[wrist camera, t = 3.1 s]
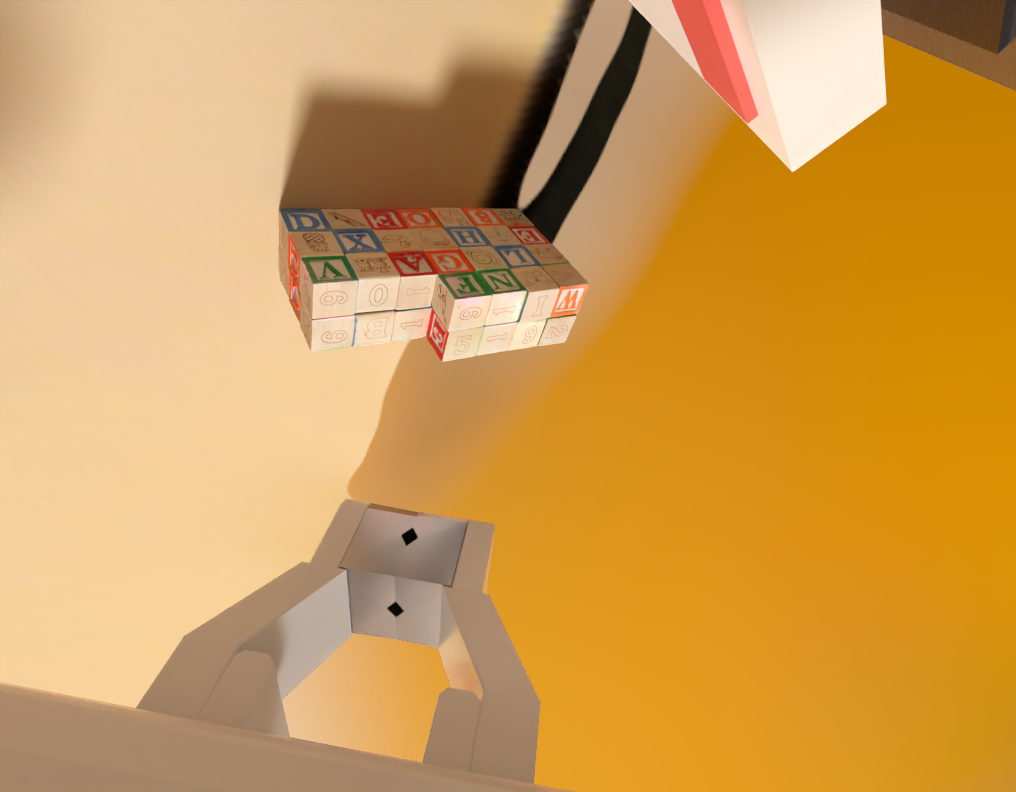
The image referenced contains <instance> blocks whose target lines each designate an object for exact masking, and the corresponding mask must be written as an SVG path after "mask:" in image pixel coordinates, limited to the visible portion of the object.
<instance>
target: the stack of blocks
mask: <svg viewBox="0 0 1016 792" xmlns="http://www.w3.org/2000/svg"><path fill="white" fill-rule="evenodd" d="M279 274H280V279H281V282H282V284H283V286H284V288H285V290H286V292H287V295H288V297H289V301H290V303H291V305H292V307H293V310H294V312H295V314H296V316H297V318H298V320H299V322H300V326H301V330H302V332H303V334H304V336H305V339H306V341H307V344H308V346H309V348H310V350H311V352H319V351H325V350H332V349H340V348H346V347H350V346H353V347H358V346H366V345H373V344H380V343H387V342H397V341H404V340H410V339H416V338H421V337H424V336H427V339H428V341H429V342H430V344H431V345H432V347H433V348H434V350H435V351H436V353H437V355H438V356H439V358H440V359H441V361H449V360H456V359H461V358H467V357H472V356H476V355H483V354H490V353H495V352H501V351H506V350H515V349H521V348H528V347H533V346H536V345H538V346H544V345H550V344H556V343H563V342H565V341H566V339H567V337H568V334H569V332H570V330H571V327H572V325H573V323H574V321H575V319H576V314H577V313H578V311H579V309H580V306H581V304H582V302H583V299H584V297H585V294H586V292H587V289H588V287H589V283H588V282H587V281H586V280H585V279H584V278H583V276H582V275H580V273H579V272H578V271H577V270H576V269H575V268H574V267H573V266H572V265H571V264H570V263H569V262H568V260H567V259H566V258H564V256H563V255H562V254H561V253H560V252H559V251H558V250H557V249H556V248H555V247H554V246H553V245H551V244H550V242H549V241H548V240H547V239H546V238H545V237H544V236H543V235H542V234H541V233H540V232H539V231H538V230H537V229H536V228H535V227H533V224H532V223H531V222H530V220H529V219H528V218H527V217H526V216H525V215H524V214H523V213H522V212H521V211H520V210H519V209H491V208H429V209H396V210H361V211H360V210H359V209H321V210H319V209H283V210H279Z"/></svg>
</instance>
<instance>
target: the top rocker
mask: <svg viewBox="0 0 1016 792" xmlns="http://www.w3.org/2000/svg"><path fill="white" fill-rule="evenodd" d="M628 1H629V2H630V3H631V4H632V5H633V6H634V7H635V8H636V9H637V10H638V11H639V12H640V13H641V14H642V15H643V16H644V17H645V18H646V19H647V20H648V22H649V23H650V24H651V25H652V26H653V27H654V28H655V29H656V30H657V31H658V32H659V33H660V34H661V35H662V36H663V37H664V38H665V39H666V40H667V41H668V42H669V43H670V44H671V45H672V47H674V49H675V50H676V51H677V52H678V53H679V54H680V55H681V56H682V57H683V58H684V59H685V60H686V61H687V62H688V63H689V64H690V65H691V66H692V67H693V68H694V69H695V71H696V72H697V73H698V74H699V75H700V76H701V77H702V78H703V79H704V80H705V81H706V82H707V83H708V84H709V85H710V86H711V87H712V88H713V89H714V90H715V92H716V93H717V94H718V95H719V96H720V97H721V98H722V99H723V100H724V101H725V102H726V103H727V104H728V105H729V106H730V107H731V108H732V109H733V110H734V111H735V112H736V113H737V115H738V116H739V117H740V118H741V119H742V120H743V121H744V122H745V123H746V124H747V125H748V126H749V127H750V128H751V129H752V130H753V131H754V132H755V133H756V134H757V135H758V136H759V138H760V139H761V140H763V142H764V143H765V144H766V145H767V146H768V147H769V148H770V149H771V150H772V151H773V152H774V153H775V154H776V155H777V156H778V157H779V158H780V159H781V160H782V162H783V163H784V164H786V166H787V167H788V168H789V169H790V170H791V171H792V172H793V171H795V170H796V169H798V168H799V167H800V166H802V165H803V164H804V163H806V162H807V161H809V160H810V159H811V158H813V157H814V156H815V155H817V154H818V153H820V152H821V151H822V150H823V149H825V148H826V147H828V146H829V145H831V144H832V143H833V142H834V141H836V140H837V139H839V138H840V137H841V136H843V135H844V134H845V133H847V132H848V131H850V130H851V129H852V128H854V127H855V126H856V125H858V124H859V123H861V122H862V121H863V120H865V119H866V118H867V117H869V116H870V115H871V114H873V113H874V112H876V111H877V110H878V109H880V108H881V107H883V106H884V105H885V104H886V88H885V72H884V54H883V36H882V18H881V1H880V0H628Z"/></svg>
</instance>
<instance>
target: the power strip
mask: <svg viewBox="0 0 1016 792" xmlns="http://www.w3.org/2000/svg"><path fill="white" fill-rule="evenodd" d="M880 1H881V18H882V34H884V35H886V36H889V37H891V38H893V39H895V40H898V41H900V42H903V43H905V44H907V45H910V46H912V47H914V48H917V49H919V50H922V51H924V52H926V53H928V54H931V55H933V56H935V57H938V58H940V59H943V60H945V61H947V62H949V63H952V64H954V65H956V66H959V67H961V68H964V69H966V70H968V71H971V72H973V73H975V74H978V75H980V76H982V77H985V78H987V79H989V80H992V81H994V82H997V83H999V84H1001V85H1003V86H1006V87H1008V88H1011V89H1013V90H1015V91H1016V0H880Z"/></svg>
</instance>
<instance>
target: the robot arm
mask: <svg viewBox="0 0 1016 792" xmlns="http://www.w3.org/2000/svg"><path fill="white" fill-rule="evenodd" d="M494 532H495V525H494V524H491V523H486V522H479V521H473V520H470V521H469V520H467V519H461V518H455V517H448V516H442V515H435V514H429V513H423V512H420V513H419V512H414V511H409V510H404V509H398V508H393V507H388V506H382V505H378V504H373V503H365V502H360V501H355V500H350V499H346V500H345V501H344V502H343V503H342V504H341V505H340V506H339V508H338V510H337V512H336V514H335V516H334V518H333V520H332V521H331V523H330V525H329V527H328V529H327V531H326V533H325V535H324V537H323V538H322V540H321V542H320V544H319V546H318V548H317V550H316V552H315V554H314V555H313V557H312V559H311V561H310V563H307V562H301V563H299V564H298V565H296V566H295V567H293V568H291V569H290V570H288V571H287V572H285V573H283V574H282V575H280V576H279V577H277V578H276V579H274V580H272V581H271V582H269V583H268V584H266V585H264V586H263V587H261V588H260V589H258V590H257V591H255V592H253V593H252V594H250V595H249V596H247V597H245V598H244V599H242V600H241V601H239V602H238V603H236V604H234V605H233V606H231V607H230V608H228V609H226V610H225V611H223V612H222V613H220V614H219V615H217V616H215V617H214V618H212V619H211V620H209V621H207V622H206V623H204V624H203V625H201V626H200V627H198V628H196V629H195V630H193V631H192V632H190V633H188V634H187V635H185V636H184V637H183V639H182V640H181V642H180V643H179V645H178V646H177V648H176V649H175V651H174V652H173V654H172V655H171V657H170V658H169V660H168V661H167V663H166V664H165V666H164V667H163V668H162V670H161V671H160V673H159V674H158V676H157V677H156V679H155V680H154V682H153V683H152V685H151V686H150V688H149V689H148V691H147V692H146V694H145V695H144V697H143V698H142V700H141V701H140V703H139V704H138V706H137V707H136V708H132V707H127V706H121V705H116V704H111V703H106V702H100V701H95V700H90V699H85V698H79V697H74V696H69V695H64V694H58V693H53V692H48V691H43V690H37V689H32V688H27V687H22V686H16V685H11V684H6V683H1V682H0V792H574V791H569V790H563V789H558V788H552V787H548V786H542V785H537V784H534V775H535V762H536V750H537V738H538V726H539V713H540V700H539V698H538V696H537V694H536V692H535V690H534V688H533V686H532V684H531V681H530V680H529V678H528V675H527V673H526V671H525V669H524V667H523V665H522V663H521V660H520V658H519V656H518V654H517V652H516V650H515V648H514V646H513V644H512V642H511V639H510V638H509V635H508V633H507V631H506V629H505V627H504V625H503V623H502V621H501V618H500V616H499V615H498V612H497V610H496V608H495V606H494V604H493V602H492V600H491V597H490V595H489V594H486V591H487V584H488V576H489V570H490V563H491V555H492V547H493V540H494ZM352 633H358V634H364V635H371V636H378V637H384V638H391V639H397V640H402V641H407V642H411V643H417V644H421V645H426V646H431V647H436V648H439V652H440V655H441V658H442V661H443V664H444V668H445V671H446V674H447V678H448V681H449V684H450V687H451V688H450V687H449V688H447V689H445V690H444V691H443V692H441V693H440V694H439V698H438V702H437V706H436V710H435V714H434V718H433V722H432V726H431V730H430V734H429V738H428V742H427V746H426V751H425V754H424V758H423V762H422V763H421V762H416V761H411V760H406V759H400V758H395V757H390V756H384V755H379V754H374V753H369V752H364V751H359V750H353V749H348V748H343V747H338V746H332V745H327V744H322V743H317V742H311V741H306V740H300V739H295V738H290V736H289V732H288V727H287V722H286V718H285V713H284V709H283V704H282V699H283V698H284V697H285V696H287V695H288V694H289V693H290V692H291V691H292V690H293V689H294V688H295V687H296V686H297V685H299V684H300V683H301V682H302V681H303V680H304V679H305V678H306V677H307V676H308V675H309V674H311V673H312V672H313V671H314V670H315V669H316V668H317V667H318V666H319V665H320V664H321V663H322V662H324V661H325V660H326V659H327V658H328V657H329V656H330V655H331V654H332V653H333V652H334V651H336V650H337V649H338V648H339V647H340V646H341V645H342V644H343V643H344V642H345V641H346V640H348V639H349V638H350V637H351V636H352Z"/></svg>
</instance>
